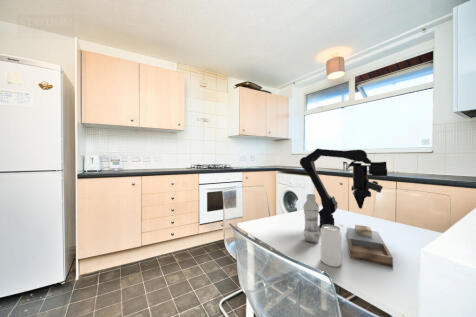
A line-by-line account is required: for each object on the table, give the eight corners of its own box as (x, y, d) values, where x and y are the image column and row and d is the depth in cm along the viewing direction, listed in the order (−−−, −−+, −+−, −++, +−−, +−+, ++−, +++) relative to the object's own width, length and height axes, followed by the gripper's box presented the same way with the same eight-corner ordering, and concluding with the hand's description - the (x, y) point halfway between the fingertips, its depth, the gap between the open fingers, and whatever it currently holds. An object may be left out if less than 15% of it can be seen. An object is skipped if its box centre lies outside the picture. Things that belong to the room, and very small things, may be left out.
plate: (348, 245, 77) (348, 238, 77) (346, 233, 89) (346, 227, 89) (385, 252, 71) (384, 244, 71) (377, 238, 83) (377, 231, 83)
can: (317, 257, 67) (316, 224, 67) (334, 256, 68) (334, 223, 68) (327, 268, 61) (327, 231, 61) (346, 267, 61) (345, 230, 61)
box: (350, 258, 67) (350, 249, 67) (348, 245, 76) (348, 238, 76) (392, 266, 61) (392, 257, 61) (385, 252, 71) (385, 244, 71)
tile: (356, 234, 81) (356, 228, 81) (355, 230, 85) (355, 224, 85) (371, 236, 78) (371, 230, 78) (369, 232, 83) (369, 226, 83)
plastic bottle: (318, 238, 83) (318, 194, 84) (320, 245, 77) (319, 196, 77) (303, 236, 86) (303, 193, 86) (303, 243, 79) (303, 195, 79)
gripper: (385, 178, 78) (386, 215, 77) (377, 174, 94) (377, 206, 94) (354, 177, 83) (354, 212, 83) (351, 174, 99) (351, 203, 99)
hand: (360, 208), depth 89 cm, fingers closed
